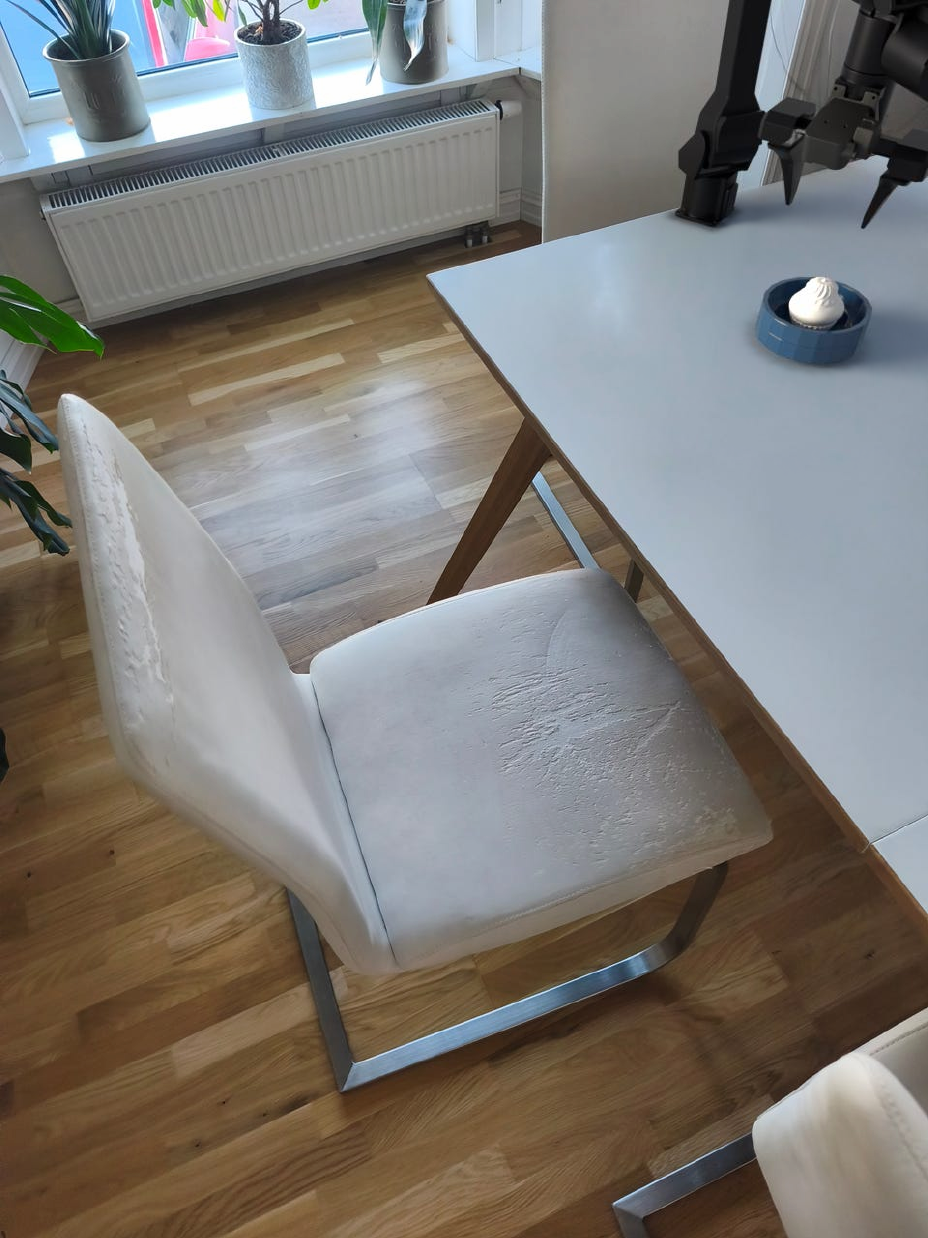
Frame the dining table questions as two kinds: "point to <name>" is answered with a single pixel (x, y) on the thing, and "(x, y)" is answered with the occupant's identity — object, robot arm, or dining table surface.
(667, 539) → the dining table surface
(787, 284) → the bowl
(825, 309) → the muffin
